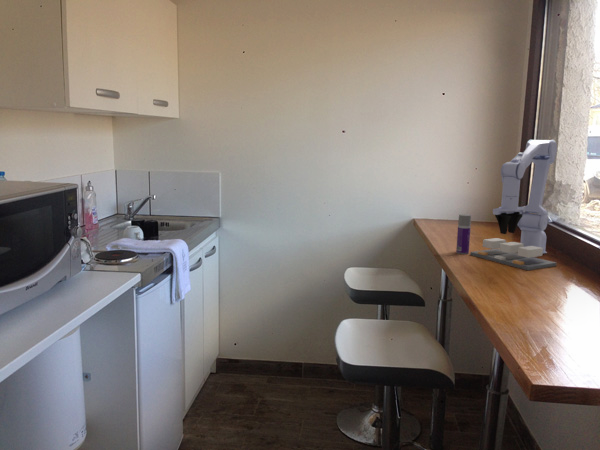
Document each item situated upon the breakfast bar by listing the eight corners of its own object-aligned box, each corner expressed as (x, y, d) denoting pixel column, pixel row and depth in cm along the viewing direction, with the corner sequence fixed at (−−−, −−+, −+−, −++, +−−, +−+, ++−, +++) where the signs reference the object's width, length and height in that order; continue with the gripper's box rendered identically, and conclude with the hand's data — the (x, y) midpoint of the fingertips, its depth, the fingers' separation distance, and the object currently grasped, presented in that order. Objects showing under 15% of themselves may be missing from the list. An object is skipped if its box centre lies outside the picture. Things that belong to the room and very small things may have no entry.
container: (469, 254, 204) (472, 216, 202) (456, 253, 205) (459, 215, 203) (468, 252, 209) (470, 214, 206) (455, 251, 210) (458, 213, 207)
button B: (513, 249, 199) (514, 241, 198) (523, 251, 195) (524, 243, 195) (499, 250, 195) (500, 243, 195) (509, 253, 192) (509, 245, 191)
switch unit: (497, 251, 211) (497, 246, 211) (556, 265, 188) (556, 260, 188) (470, 255, 204) (470, 249, 203) (527, 270, 181) (528, 264, 181)
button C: (531, 253, 192) (532, 245, 192) (542, 255, 188) (543, 248, 188) (517, 255, 188) (518, 247, 188) (528, 257, 185) (528, 249, 184)
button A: (496, 245, 206) (496, 237, 205) (505, 247, 202) (506, 240, 202) (482, 246, 202) (483, 239, 202) (491, 248, 198) (492, 241, 198)
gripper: (514, 194, 197) (511, 230, 200) (487, 195, 190) (484, 232, 193) (531, 196, 191) (527, 233, 194) (503, 197, 184) (500, 236, 187)
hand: (507, 233), depth 193 cm, fingers open, 4 cm apart
